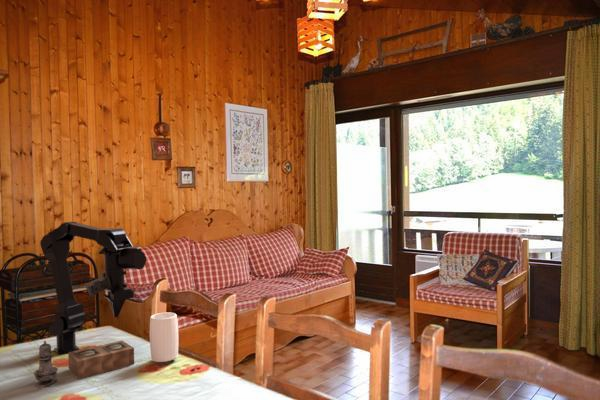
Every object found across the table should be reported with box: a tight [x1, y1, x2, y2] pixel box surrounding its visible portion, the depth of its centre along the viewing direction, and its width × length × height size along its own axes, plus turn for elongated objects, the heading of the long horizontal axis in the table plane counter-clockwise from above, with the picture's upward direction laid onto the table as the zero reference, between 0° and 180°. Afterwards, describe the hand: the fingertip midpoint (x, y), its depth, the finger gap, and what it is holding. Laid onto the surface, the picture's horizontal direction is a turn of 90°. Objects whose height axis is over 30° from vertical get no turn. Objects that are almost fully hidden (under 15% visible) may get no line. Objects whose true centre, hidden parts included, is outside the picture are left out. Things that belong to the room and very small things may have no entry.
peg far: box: [108, 344, 122, 350], centre depth 141 cm, size 4×4×5 cm
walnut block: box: [67, 340, 135, 380], centre depth 139 cm, size 16×10×5 cm, turn 131°
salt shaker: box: [33, 340, 58, 389], centre depth 127 cm, size 6×6×12 cm
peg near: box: [80, 351, 95, 357], centre depth 136 cm, size 4×4×5 cm
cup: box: [149, 311, 179, 363], centre depth 142 cm, size 8×8×14 cm
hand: (116, 316), depth 147 cm, fingers closed
